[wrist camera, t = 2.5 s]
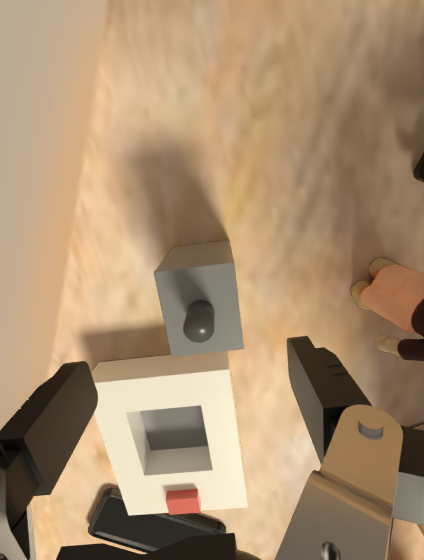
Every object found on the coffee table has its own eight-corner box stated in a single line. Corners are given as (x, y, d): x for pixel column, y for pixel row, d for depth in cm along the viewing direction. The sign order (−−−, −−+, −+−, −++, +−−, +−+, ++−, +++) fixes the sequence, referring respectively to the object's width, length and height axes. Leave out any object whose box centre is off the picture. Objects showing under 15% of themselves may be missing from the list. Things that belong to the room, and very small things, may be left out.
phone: (202, 569, 34) (85, 534, 32) (202, 558, 35) (89, 523, 33) (230, 532, 32) (105, 492, 30) (229, 521, 33) (109, 481, 31)
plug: (229, 239, 22) (236, 272, 13) (236, 303, 23) (247, 369, 15) (173, 247, 22) (144, 284, 13) (184, 309, 24) (165, 377, 15)
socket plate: (227, 348, 25) (229, 375, 21) (245, 476, 30) (248, 516, 26) (99, 362, 25) (79, 390, 22) (136, 484, 30) (125, 524, 27)
